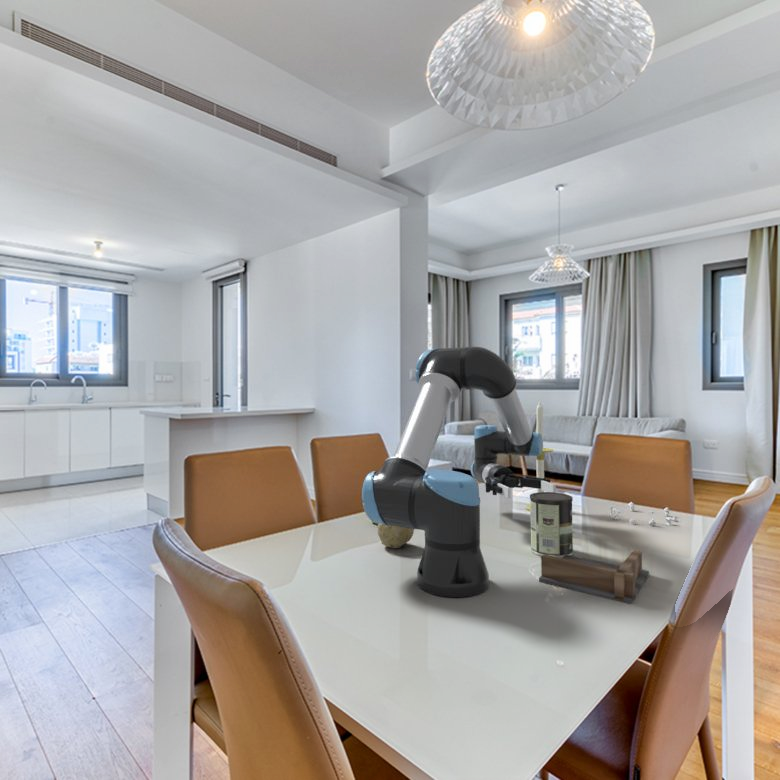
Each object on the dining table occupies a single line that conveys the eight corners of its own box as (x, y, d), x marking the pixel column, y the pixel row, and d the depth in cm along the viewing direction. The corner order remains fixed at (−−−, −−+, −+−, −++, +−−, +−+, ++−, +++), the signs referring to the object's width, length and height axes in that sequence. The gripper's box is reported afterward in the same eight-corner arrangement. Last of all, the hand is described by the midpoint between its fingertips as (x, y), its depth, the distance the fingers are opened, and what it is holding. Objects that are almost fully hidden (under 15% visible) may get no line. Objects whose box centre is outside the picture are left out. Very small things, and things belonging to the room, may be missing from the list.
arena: (631, 603, 92) (631, 577, 92) (539, 581, 103) (538, 558, 103) (649, 574, 106) (648, 551, 106) (566, 557, 117) (566, 537, 117)
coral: (423, 516, 131) (406, 509, 123) (413, 554, 128) (396, 549, 120) (393, 509, 136) (376, 501, 128) (383, 545, 133) (365, 540, 125)
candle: (523, 505, 171) (522, 399, 171) (552, 505, 170) (551, 399, 170) (527, 512, 161) (526, 400, 161) (558, 512, 160) (557, 399, 160)
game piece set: (608, 509, 166) (607, 498, 166) (675, 515, 157) (675, 503, 157) (606, 523, 148) (606, 510, 148) (681, 530, 139) (681, 517, 139)
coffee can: (564, 544, 127) (564, 491, 127) (579, 558, 117) (579, 500, 117) (525, 545, 127) (525, 491, 127) (536, 558, 117) (536, 500, 117)
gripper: (534, 486, 155) (573, 502, 135) (461, 491, 150) (489, 508, 129) (534, 463, 155) (572, 475, 134) (461, 467, 150) (489, 480, 129)
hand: (532, 491), depth 132 cm, fingers open, 13 cm apart
